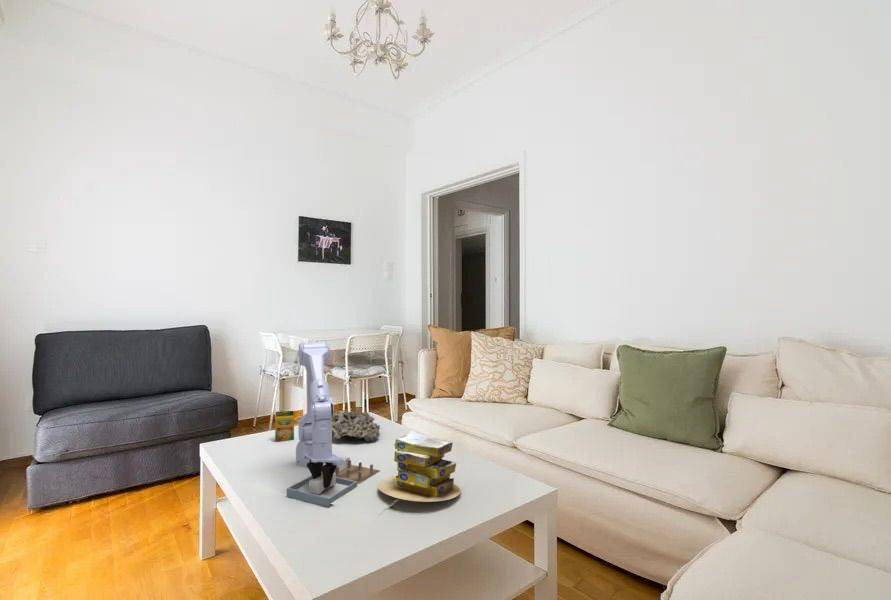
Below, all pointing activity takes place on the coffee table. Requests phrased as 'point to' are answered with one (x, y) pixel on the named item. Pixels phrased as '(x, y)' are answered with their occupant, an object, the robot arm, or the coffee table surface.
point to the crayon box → (284, 426)
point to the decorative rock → (355, 425)
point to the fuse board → (356, 472)
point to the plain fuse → (344, 463)
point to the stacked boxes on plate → (421, 470)
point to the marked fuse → (319, 484)
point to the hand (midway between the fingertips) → (322, 485)
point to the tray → (316, 498)
